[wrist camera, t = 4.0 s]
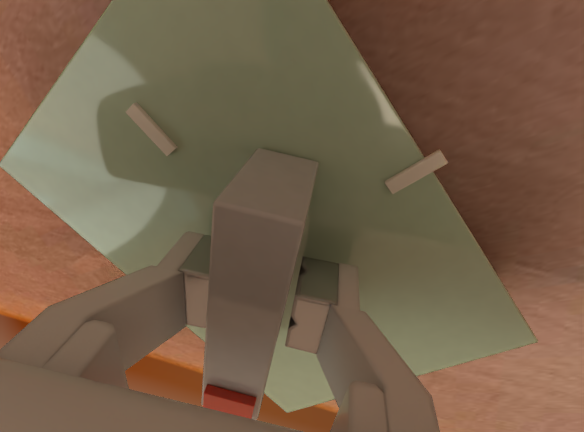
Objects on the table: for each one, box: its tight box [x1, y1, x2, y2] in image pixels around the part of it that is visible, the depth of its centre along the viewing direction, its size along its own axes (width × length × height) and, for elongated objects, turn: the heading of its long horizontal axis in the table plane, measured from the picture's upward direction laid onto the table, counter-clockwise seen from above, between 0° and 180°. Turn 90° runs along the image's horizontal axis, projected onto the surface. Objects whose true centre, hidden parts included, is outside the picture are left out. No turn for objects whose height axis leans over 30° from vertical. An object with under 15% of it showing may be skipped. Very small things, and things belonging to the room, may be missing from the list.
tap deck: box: [0, 0, 538, 412], centre depth 11 cm, size 14×11×3 cm
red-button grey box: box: [202, 148, 319, 420], centre depth 8 cm, size 6×2×3 cm, turn 170°
